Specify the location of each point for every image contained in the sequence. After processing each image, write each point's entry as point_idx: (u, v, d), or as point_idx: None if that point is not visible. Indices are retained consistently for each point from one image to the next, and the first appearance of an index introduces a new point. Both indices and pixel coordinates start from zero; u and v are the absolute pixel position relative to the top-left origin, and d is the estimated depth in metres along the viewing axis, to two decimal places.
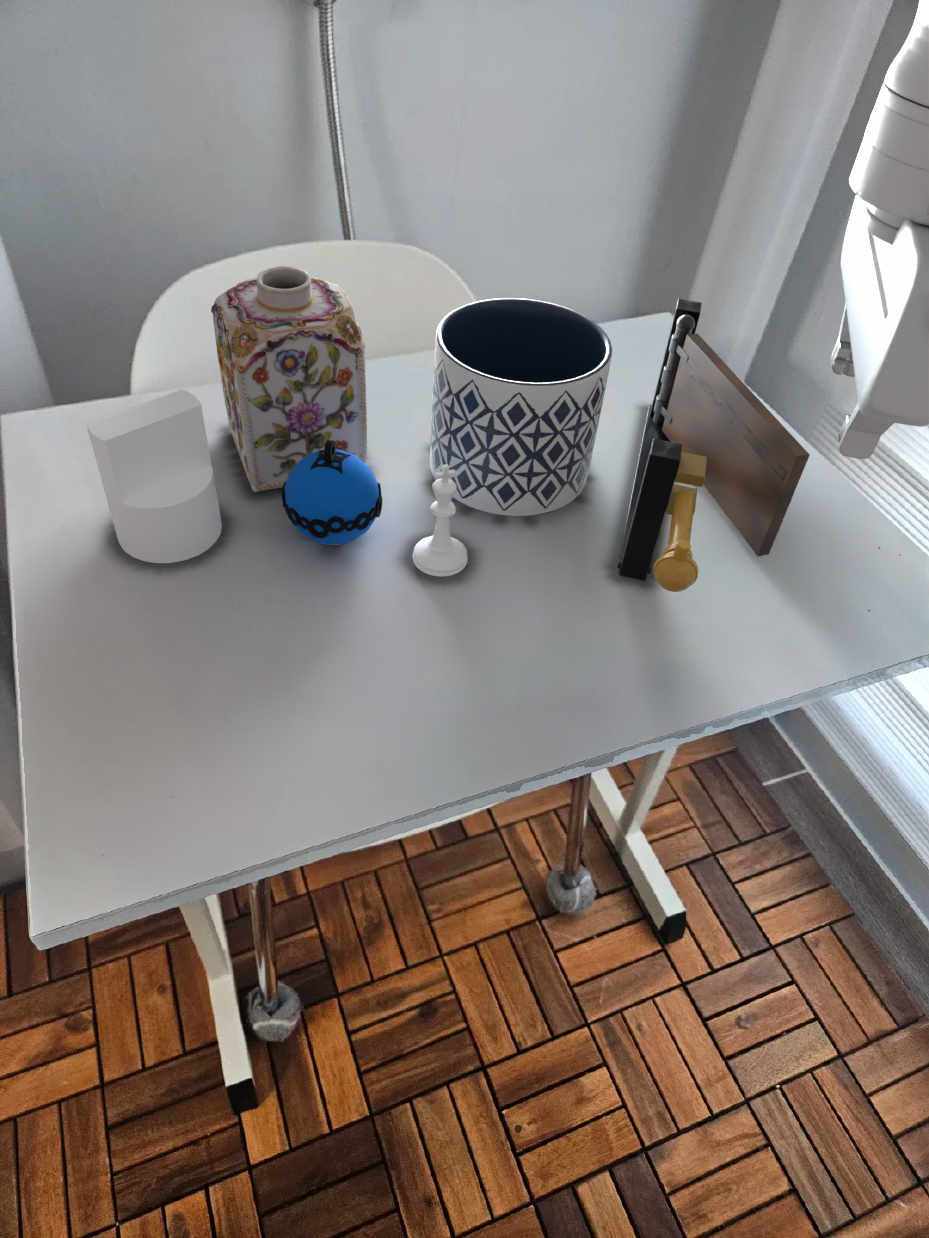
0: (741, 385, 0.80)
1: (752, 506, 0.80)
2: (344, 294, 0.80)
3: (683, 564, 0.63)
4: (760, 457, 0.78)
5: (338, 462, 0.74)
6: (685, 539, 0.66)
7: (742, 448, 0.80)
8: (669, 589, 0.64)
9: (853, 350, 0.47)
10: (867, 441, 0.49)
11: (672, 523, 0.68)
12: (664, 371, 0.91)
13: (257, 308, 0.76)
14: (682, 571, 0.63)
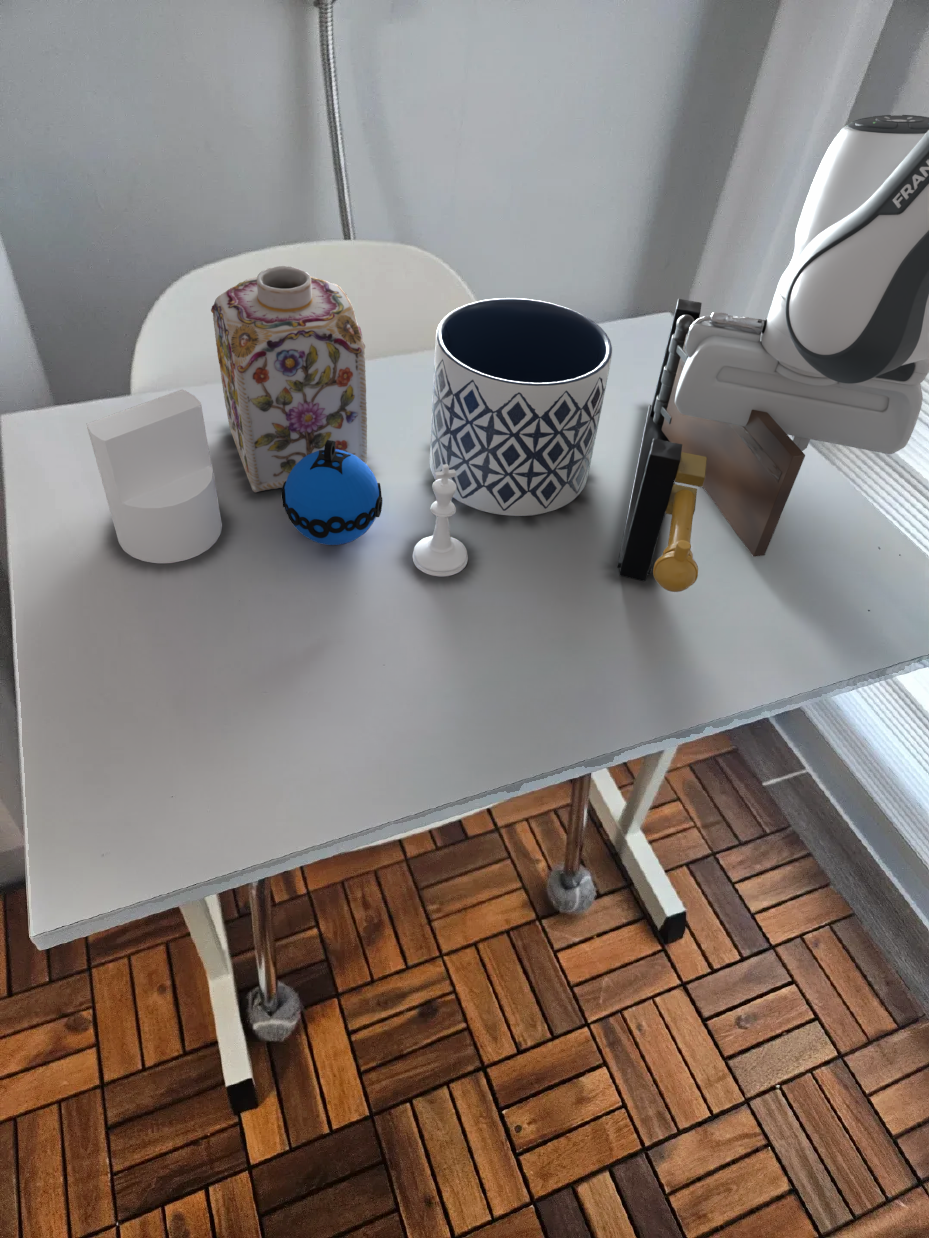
0: None
1: (748, 506, 0.80)
2: (344, 294, 0.80)
3: (683, 564, 0.63)
4: (757, 457, 0.78)
5: (338, 462, 0.74)
6: (685, 539, 0.66)
7: (739, 448, 0.80)
8: (669, 589, 0.64)
9: None
10: None
11: (672, 523, 0.68)
12: (664, 371, 0.91)
13: (257, 308, 0.76)
14: (682, 571, 0.63)
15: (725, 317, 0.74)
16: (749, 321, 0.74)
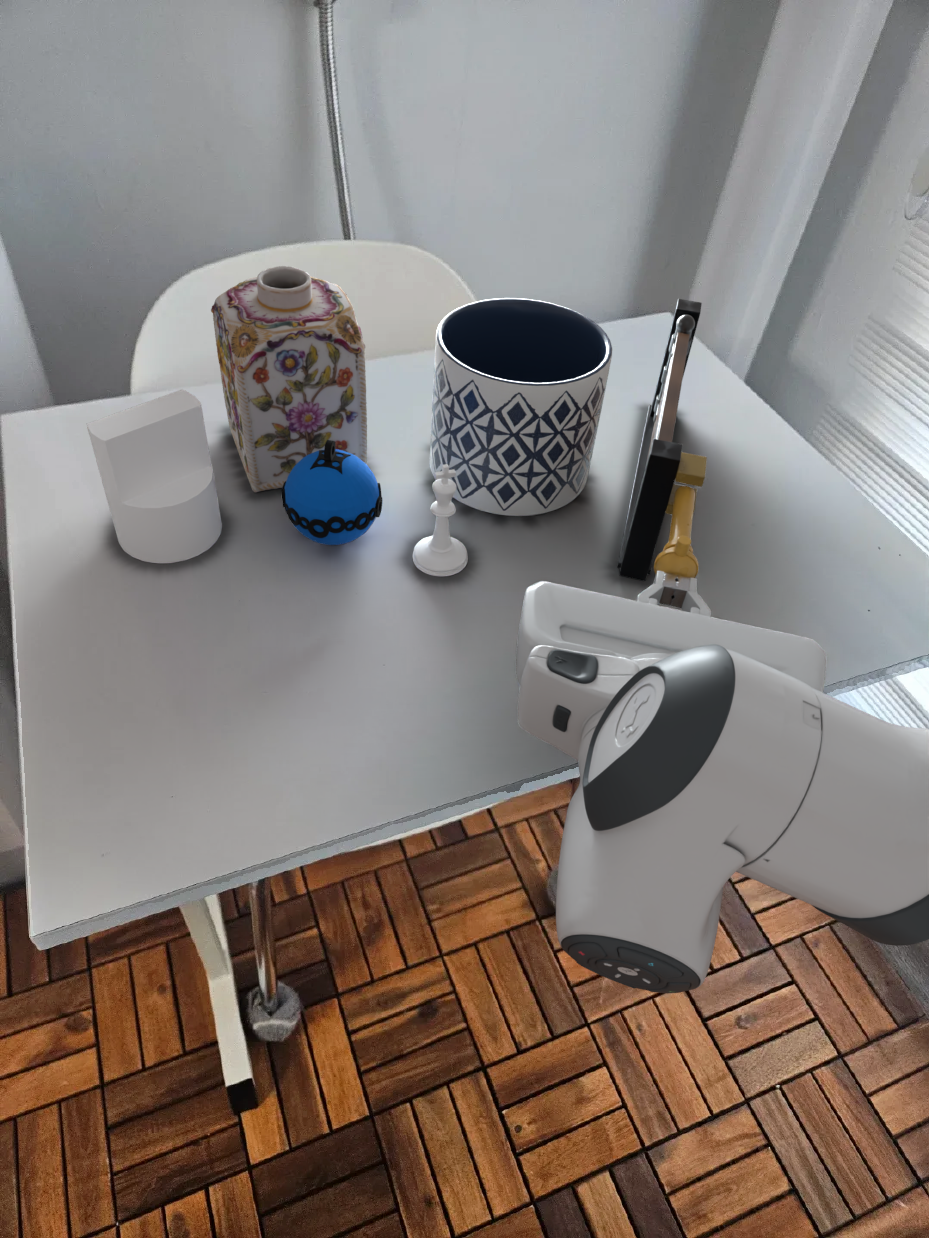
0: (676, 382, 0.80)
1: None
2: (344, 294, 0.80)
3: (684, 559, 0.64)
4: None
5: (338, 462, 0.74)
6: (685, 535, 0.67)
7: None
8: None
9: None
10: None
11: (673, 519, 0.69)
12: None
13: (257, 308, 0.76)
14: (683, 566, 0.64)
15: None
16: None
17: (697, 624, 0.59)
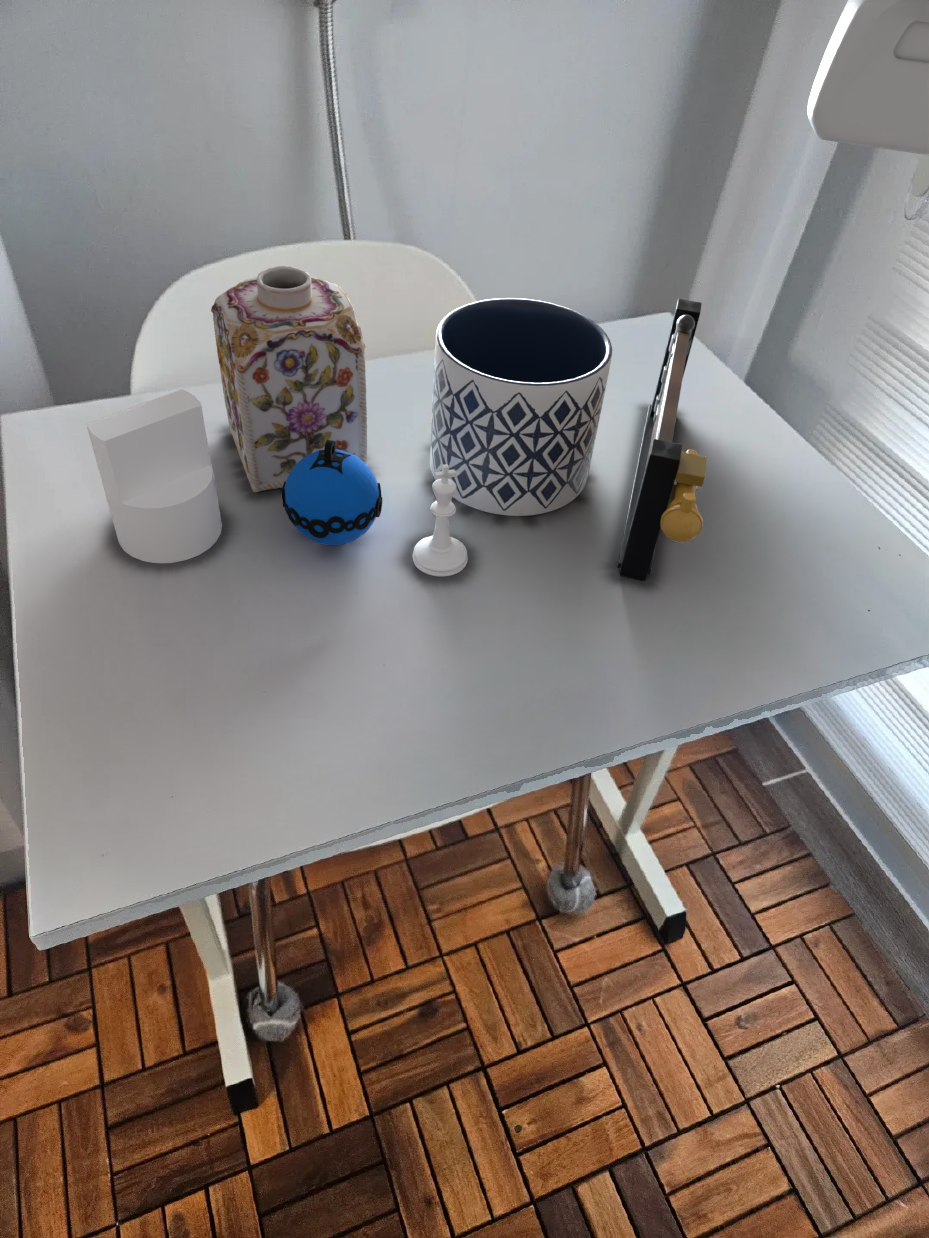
0: (676, 382, 0.80)
1: None
2: (344, 294, 0.80)
3: (689, 515, 0.68)
4: None
5: (338, 462, 0.74)
6: None
7: None
8: (675, 539, 0.69)
9: None
10: None
11: None
12: None
13: (257, 308, 0.76)
14: (688, 522, 0.67)
15: None
16: None
17: None
